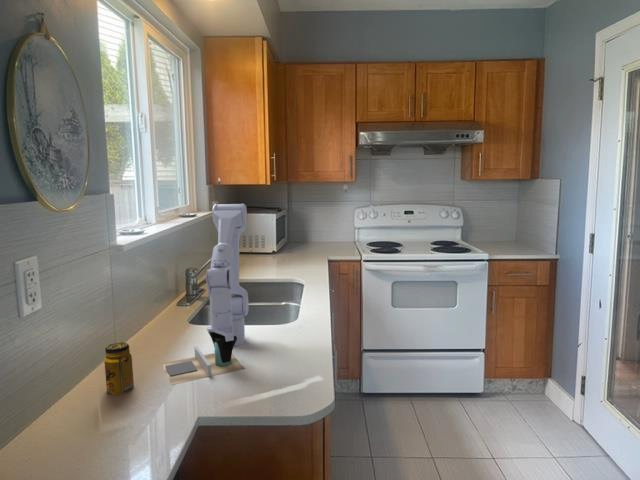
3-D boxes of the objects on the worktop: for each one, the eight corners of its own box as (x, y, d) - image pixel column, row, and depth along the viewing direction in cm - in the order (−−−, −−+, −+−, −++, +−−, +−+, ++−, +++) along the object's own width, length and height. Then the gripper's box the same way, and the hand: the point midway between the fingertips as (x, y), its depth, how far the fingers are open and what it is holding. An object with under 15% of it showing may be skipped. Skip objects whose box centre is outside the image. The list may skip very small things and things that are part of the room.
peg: (213, 362, 123) (212, 341, 123) (228, 358, 125) (228, 338, 125) (217, 367, 120) (216, 346, 119) (233, 364, 122) (232, 343, 121)
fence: (194, 356, 127) (194, 346, 127) (197, 356, 127) (197, 346, 127) (208, 376, 114) (207, 365, 114) (211, 376, 114) (210, 364, 114)
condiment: (98, 396, 107) (94, 348, 105) (127, 381, 114) (123, 336, 113) (120, 402, 104) (117, 352, 102) (148, 386, 111) (145, 340, 110)
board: (161, 366, 123) (161, 363, 123) (228, 353, 132) (228, 350, 132) (171, 388, 110) (171, 384, 110) (245, 372, 119) (245, 368, 119)
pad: (165, 366, 120) (165, 365, 120) (191, 361, 124) (191, 360, 124) (170, 376, 114) (169, 375, 114) (197, 370, 118) (197, 369, 118)
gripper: (200, 306, 125) (202, 352, 127) (213, 319, 112) (216, 370, 114) (224, 302, 128) (226, 347, 130) (240, 315, 116) (242, 365, 117)
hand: (223, 358), depth 122 cm, fingers open, 5 cm apart
